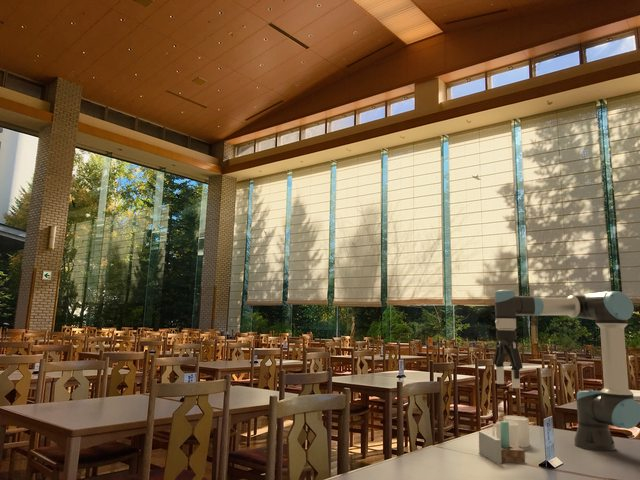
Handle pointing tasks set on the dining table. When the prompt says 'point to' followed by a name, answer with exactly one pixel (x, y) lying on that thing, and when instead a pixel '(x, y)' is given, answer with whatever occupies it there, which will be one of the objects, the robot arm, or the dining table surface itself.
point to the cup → (512, 432)
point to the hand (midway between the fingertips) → (508, 385)
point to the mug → (520, 429)
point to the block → (512, 454)
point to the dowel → (504, 434)
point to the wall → (490, 447)
